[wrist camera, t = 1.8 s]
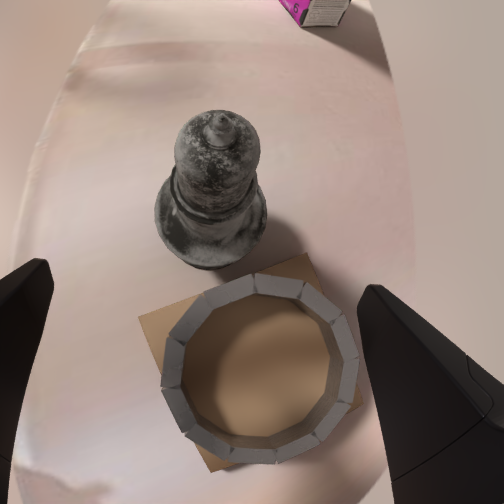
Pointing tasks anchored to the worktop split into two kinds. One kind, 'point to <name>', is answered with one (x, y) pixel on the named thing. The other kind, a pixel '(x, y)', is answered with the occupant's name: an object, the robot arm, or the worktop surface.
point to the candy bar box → (316, 11)
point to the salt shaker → (213, 192)
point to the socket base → (256, 365)
